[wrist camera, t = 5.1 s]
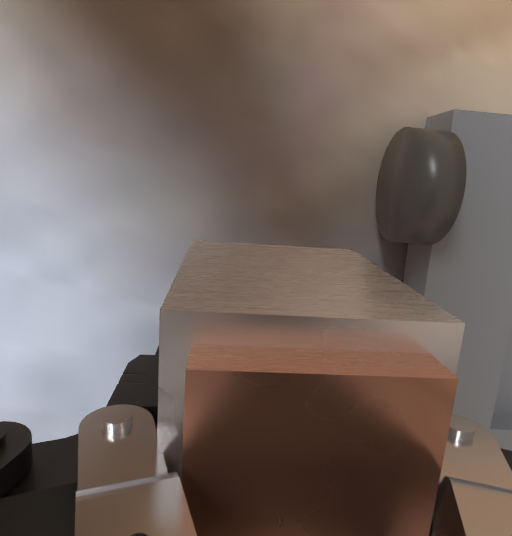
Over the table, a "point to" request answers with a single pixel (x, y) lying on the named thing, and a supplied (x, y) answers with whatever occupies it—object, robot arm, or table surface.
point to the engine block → (303, 392)
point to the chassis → (459, 244)
